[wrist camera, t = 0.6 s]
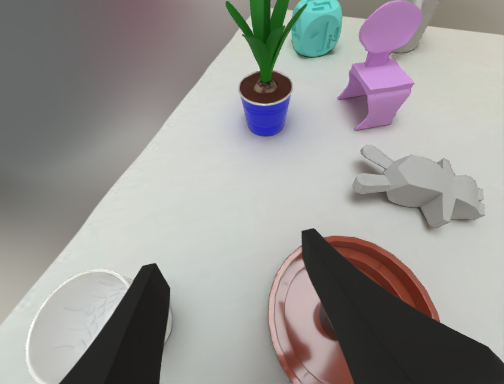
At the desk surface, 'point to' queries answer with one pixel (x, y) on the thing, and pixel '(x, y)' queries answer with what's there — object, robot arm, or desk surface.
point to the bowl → (308, 306)
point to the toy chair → (383, 62)
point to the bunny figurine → (423, 187)
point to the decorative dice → (317, 27)
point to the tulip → (326, 323)
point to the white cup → (73, 322)
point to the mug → (427, 4)
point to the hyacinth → (265, 66)
